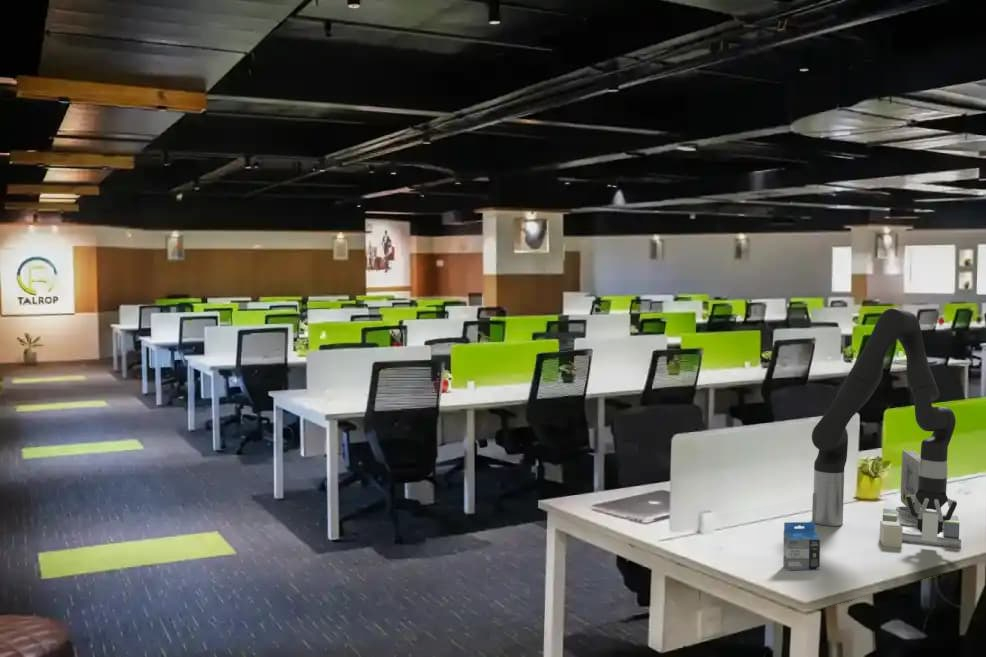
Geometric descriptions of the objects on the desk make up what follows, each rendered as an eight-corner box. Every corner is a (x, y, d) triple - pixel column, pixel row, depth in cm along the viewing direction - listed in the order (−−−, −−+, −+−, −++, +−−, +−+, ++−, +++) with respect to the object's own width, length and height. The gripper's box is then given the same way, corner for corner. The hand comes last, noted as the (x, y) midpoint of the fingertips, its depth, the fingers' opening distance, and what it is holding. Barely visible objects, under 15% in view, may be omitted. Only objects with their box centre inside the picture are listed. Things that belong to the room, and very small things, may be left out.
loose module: (921, 539, 263) (923, 512, 262) (921, 534, 268) (922, 508, 268) (937, 541, 261) (938, 514, 260) (936, 536, 266) (938, 510, 266)
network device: (939, 525, 291) (941, 464, 290) (910, 524, 293) (912, 463, 292) (918, 506, 316) (920, 450, 315) (892, 505, 318) (893, 449, 317)
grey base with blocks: (880, 538, 275) (880, 515, 275) (881, 528, 287) (881, 506, 287) (960, 547, 266) (961, 524, 266) (958, 536, 278) (959, 514, 278)
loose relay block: (883, 546, 267) (884, 525, 267) (879, 540, 274) (880, 520, 274) (901, 547, 266) (902, 527, 266) (897, 541, 273) (898, 521, 273)
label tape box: (788, 570, 243) (789, 525, 243) (782, 566, 247) (783, 521, 247) (819, 570, 244) (821, 525, 243) (813, 565, 248) (815, 521, 247)
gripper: (905, 474, 263) (902, 532, 264) (960, 480, 257) (957, 539, 258) (906, 469, 270) (903, 525, 271) (959, 475, 264) (956, 532, 265)
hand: (929, 532), depth 264 cm, fingers closed on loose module, 4 cm apart
